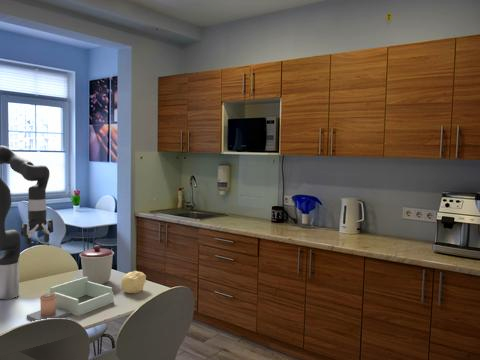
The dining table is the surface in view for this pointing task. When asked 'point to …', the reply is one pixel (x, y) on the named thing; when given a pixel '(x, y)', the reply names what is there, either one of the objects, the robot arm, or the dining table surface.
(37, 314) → the slate board
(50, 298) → the terracotta pot
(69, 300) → the pale green open box
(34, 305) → the dining table surface
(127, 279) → the sculpture
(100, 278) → the canister
